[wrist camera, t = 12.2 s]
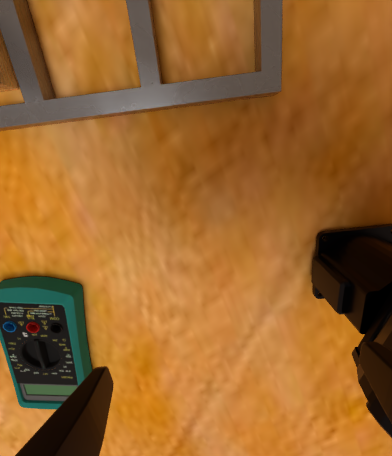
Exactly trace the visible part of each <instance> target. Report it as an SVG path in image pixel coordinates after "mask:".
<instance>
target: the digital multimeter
mask: <svg viewBox="0 0 392 456" xmlns="http://www.w3.org/2000/svg"><path fill="white" fill-rule="evenodd" d="M67 324H68V325H67ZM68 330H69V331H68ZM69 335H70V337H69ZM0 341H1V344H2V347H3V350H4V353H5V356H6V360H7V363H8V366H9V370H10V373H11V376H12V380H13V383H14V387H15V391H16V395H17V398H18V402H19V404H20V406H21V407H24V408H37V409H58V408H59V407H60V406H61V405H62V404H63V402H64V401H65V400H66V399H67V398H68V397H69V396H70V395H71V394H72V393H73V391H74V390H75V389H76V388H77V387H78V386H79V385H80V384H81V383H82V382H83V380H84V379H85V378H86V377H87V376H88V375H89V374H90V373H91V372H92V367H91V362H90V356H89V349H88V343H87V336H86V326H85V316H84V303H83V288H82V286H81V285H80V284H78V283H74V282H70V281H66V280H62V279H57V278H51V277H39V276H30V277H19V278H13V279H8V280H3V281H1V282H0ZM70 341H71V343H70ZM22 343H23V344H22ZM71 347H72V348H71ZM72 352H73V354H72ZM73 358H74V360H73ZM74 364H75V366H74ZM30 366H31V367H30ZM32 367H33V368H32ZM35 368H36V369H35ZM39 369H40V370H39ZM75 370H76V371H75ZM76 376H77V377H76Z"/></svg>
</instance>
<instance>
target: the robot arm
mask: <svg viewBox="0 0 392 456" xmlns="http://www.w3.org/2000/svg"><path fill="white" fill-rule="evenodd" d="M391 230H392V224H385V225H376V226H367V227H358V228H349V229H340V230H330V231H322V232H320V233H319V234H318V235H317V240H316V253H315V257H314V258H313V268H312V283H313V295H314V296H315V297H316V298H317V299H323V298H325V299H326V300H327V301H328V303H329V304H330V305H331V306H332V308H333V309H334V310H335V311H336V312H337V313H338V314H344V315H345V316H346V317H347V318H348V319H349V321H350V322H351V323H352V324H353V325H354V326H355V328H356V329H357V330H358V331H359V332H360V333H361V334H365V335H364V337H363V339H362V340H361V342H360V344H359V345H358V347H355V348H354V350H353V352H352V356H353V358H354V361H355V364H356V367H357V374H358V382H359V384H360V386H361V388H362V390H363V392H364V394H365V396H366V398H367V400H368V402H367V403H366V406H367V408H368V410H369V412H370V413H371V414H372V416H373V417H374V418H375V420H376V421H377V422H378V423H379V425H380V426H381V427H382V428H383V429H384V430H385V432H386V433H387V434H388V435H389V436H390V437H391V438H392V232H391ZM324 236H326V237H325V239H323V240H322V238H323V237H324ZM319 292H320V293H319ZM318 293H319V294H318ZM112 392H113V380H112V377H111V374H110V372H109V369H108V367H106V366H104V367H96V368H95V369H93V371H92V372H91V373H90V374H89V375H88V376H87V377H86V378H85V379H84V380H83V382H82V383H81V384H80V385H79V386H78V387H77V388H76V389H75V390H74V391H73V393H72V394H71V395H70V396H69V397H68V398H67V399H66V400H65V401H64V402H63V404H62V405H61V406H60V407H59V408H58V409H57V410H56V411H55V412H54V413H53V415H52V416H51V417H50V418H49V419H48V420H47V421H46V422H45V423H44V424H43V426H42V427H41V428H40V429H39V430H38V431H37V432H36V433H35V434H34V435H33V437H32V438H31V439H30V440H29V441H28V442H27V443H26V444H25V445H24V446H23V448H22V449H21V450H20V451H19V452H18V453H17V454H16V455H15V456H99V454H100V450H101V447H102V443H103V439H104V434H105V429H106V424H107V418H108V413H109V408H110V403H111V397H112Z"/></svg>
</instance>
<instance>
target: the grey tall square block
mask: <svg viewBox="0 0 392 456" xmlns="http://www.w3.org/2000/svg"><path fill="white" fill-rule="evenodd" d="M17 89H19V86H18V83H17V81H16V78H15V75H14V72H13V69H12V66H11V63H10V60H9V57H8V54H7V51H6V48H5V45H4V42H3V39H2V36H1V33H0V92H2V91H10V90H17Z"/></svg>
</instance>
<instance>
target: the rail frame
mask: <svg viewBox="0 0 392 456" xmlns="http://www.w3.org/2000/svg"><path fill="white" fill-rule="evenodd" d="M126 3H127V9H128V14H129V20H130V26H131V32H132V37H133V43H134V49H135V55H136V60H137V66H138V72H139V77H140V83H141V87H140V88H132V89H125V90H118V91H110V92H103V93H95V94H88V95H80V96H73V97H65V98H58V99H55V96H54V92H53V89H52V85H51V82H50V79H49V75H48V72H47V68H46V65H45V62H44V58H43V55H42V51H41V48H40V44H39V41H38V38H37V34H36V31H35V27H34V24H33V21H32V17H31V14H30V10H29V7H28V4H27V0H0V30H1V33H2V36H3V39H4V42H5V44H6V47H7V50H8V53H9V56H10V59H11V62H12V65H13V68H14V71H15V74H16V77H17V80H18V83H19V86H20V89H21V92H22V95H23V98H24V101H25V103H20V104H13V105H6V106H0V131H4V130H12V129H19V128H27V127H35V126H42V125H50V124H58V123H66V122H73V121H81V120H89V119H96V118H104V117H112V116H119V115H127V114H135V113H142V112H150V111H158V110H165V109H173V108H181V107H189V106H196V105H204V104H212V103H219V102H227V101H235V100H242V99H250V98H258V97H265V96H273V95H275V94H277V93H279V92H281V65H282V0H254V35H255V72H252V73H245V74H237V75H230V76H222V77H215V78H207V79H200V80H192V81H185V82H177V83H170V84H163V83H162V76H161V69H160V62H159V56H158V49H157V42H156V35H155V28H154V21H153V14H152V7H151V0H126Z"/></svg>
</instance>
